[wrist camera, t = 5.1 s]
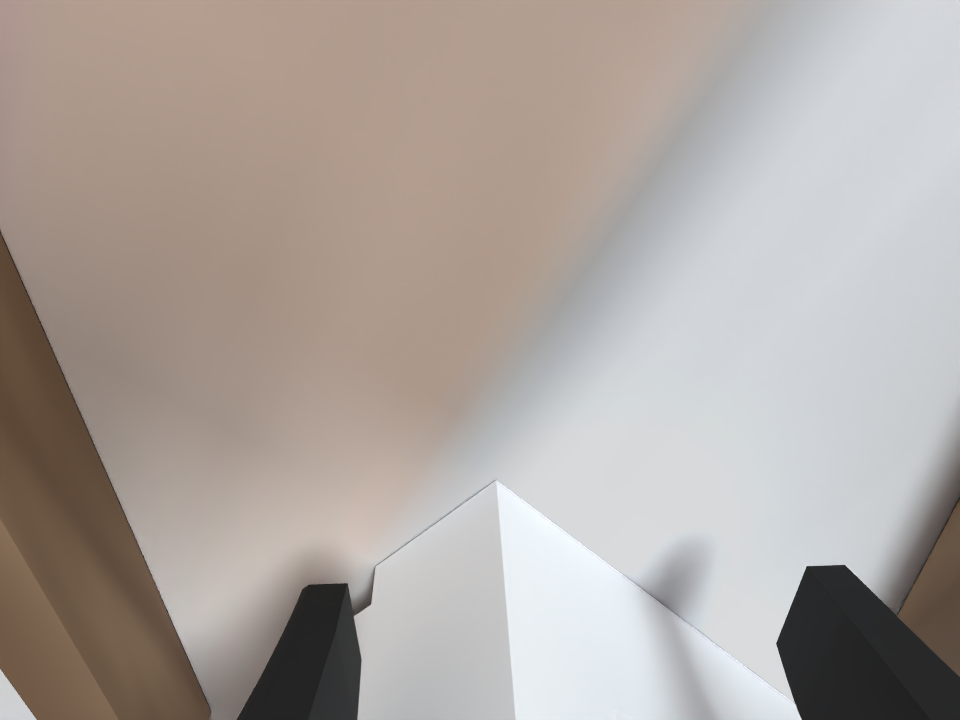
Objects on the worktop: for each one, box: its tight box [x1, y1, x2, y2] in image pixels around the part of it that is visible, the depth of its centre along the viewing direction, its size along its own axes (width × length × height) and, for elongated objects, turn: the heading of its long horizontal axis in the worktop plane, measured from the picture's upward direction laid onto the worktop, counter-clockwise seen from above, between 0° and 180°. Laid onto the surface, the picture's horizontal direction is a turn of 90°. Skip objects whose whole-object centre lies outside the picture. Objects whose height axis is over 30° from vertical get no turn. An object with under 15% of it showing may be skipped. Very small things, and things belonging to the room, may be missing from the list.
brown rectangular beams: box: [0, 234, 960, 720], centre depth 12 cm, size 20×16×2 cm
